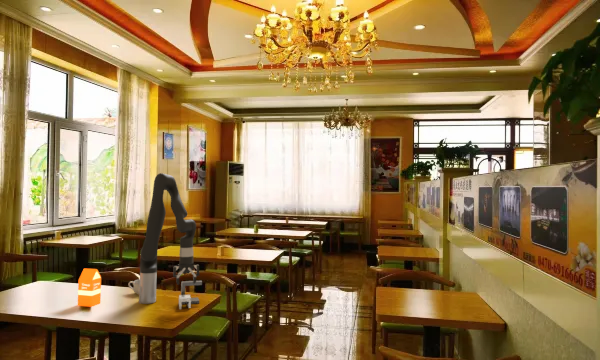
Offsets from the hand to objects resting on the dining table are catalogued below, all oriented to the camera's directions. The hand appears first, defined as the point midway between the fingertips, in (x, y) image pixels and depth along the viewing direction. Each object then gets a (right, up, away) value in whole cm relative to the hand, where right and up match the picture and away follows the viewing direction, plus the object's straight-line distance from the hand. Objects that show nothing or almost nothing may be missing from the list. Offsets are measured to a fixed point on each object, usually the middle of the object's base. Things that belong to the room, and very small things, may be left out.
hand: (186, 284), depth 239 cm
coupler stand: (0, -13, +9) cm, 16 cm away
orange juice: (-55, -12, 0) cm, 56 cm away
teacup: (-36, -13, +27) cm, 47 cm away
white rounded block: (-1, -13, -1) cm, 13 cm away
